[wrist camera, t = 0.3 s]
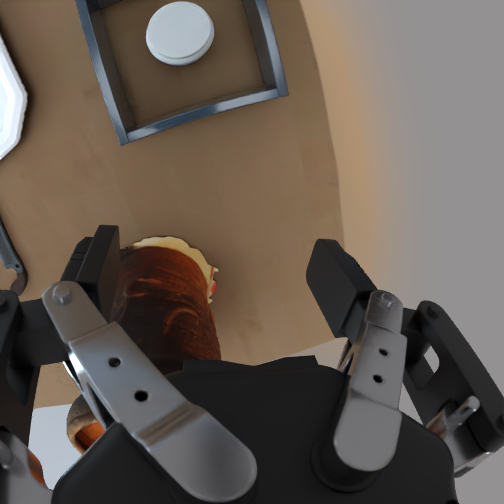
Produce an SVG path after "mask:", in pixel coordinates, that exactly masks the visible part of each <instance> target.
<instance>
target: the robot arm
mask: <svg viewBox="0 0 504 504" xmlns="http://www.w3.org/2000/svg"><path fill="white" fill-rule="evenodd" d="M119 275H120V244H119V227H118V226H116V225H99V227H98V229H97V231H96V233H95V235H94V237H85V238H84V239H83V240H81V241H80V242H79V243H78V244H77V246H76V248H75V250H74V252H73V254H72V256H71V258H70V260H69V262H68V264H67V266H66V268H65V271H64V273H63V275H62V277H61V279H60V282H56V283H54V284H52V285H50V286H49V287H48V288H46V290H45V291H44V292H43V295H42V298H40V299H36V300H30V301H24V302H20V301H19V298H18V296H17V294H16V293H15V292H13V291H10V290H0V504H459V503H458V500H457V496H456V490H455V482H454V478H458V477H461V476H462V475H464V474H465V473H467V472H468V471H470V470H471V469H473V468H474V467H476V466H477V465H479V464H480V463H481V462H483V461H484V460H485V459H487V458H488V457H489V456H491V455H492V454H493V453H495V452H496V451H497V450H499V448H501V447H502V446H504V397H503V395H502V394H501V392H500V391H499V389H498V387H497V386H496V384H495V383H494V381H493V379H492V378H491V376H490V375H489V373H488V372H487V370H486V369H485V367H484V365H483V364H482V362H481V361H480V359H479V358H478V357H477V355H476V354H475V352H474V351H473V349H472V348H471V346H470V345H469V343H468V342H467V341H466V339H465V338H464V336H463V335H462V334H461V332H460V331H459V329H458V328H457V327H456V326H455V324H454V323H453V321H452V320H451V319H450V317H449V316H448V315H447V313H446V312H445V311H444V310H443V308H441V307H440V306H439V305H437V304H436V303H434V302H431V301H422V302H420V304H419V306H418V307H417V309H416V310H413V309H408V308H403V305H402V303H401V301H400V300H399V299H398V298H397V297H396V296H395V295H393V294H391V293H389V292H387V291H383V290H378V289H377V288H376V286H375V285H374V284H373V283H372V281H371V280H370V278H369V277H368V276H367V274H366V273H364V271H363V269H362V268H361V267H360V265H359V264H358V263H357V261H356V260H355V259H354V258H353V257H352V256H350V255H349V254H348V253H346V252H345V251H344V250H343V249H342V247H341V246H340V245H339V243H338V242H337V241H336V240H331V239H318V240H317V241H316V243H315V245H314V249H313V252H312V255H311V258H310V261H309V264H308V267H307V271H306V280H307V284H308V286H309V288H310V289H311V291H312V293H313V295H314V297H315V299H316V301H317V303H318V305H319V307H320V309H321V311H322V313H323V315H324V317H325V319H326V321H327V323H328V325H329V327H330V329H331V331H332V333H333V335H334V336H335V338H340V337H347V338H348V340H347V342H346V344H345V346H344V349H343V352H342V355H341V358H340V361H339V364H338V366H337V369H334V368H331V367H328V366H323V365H318V362H317V360H316V358H315V355H312V356H298V357H285V358H281V359H278V360H274V361H271V362H267V363H264V364H260V365H256V366H250V365H244V364H238V363H233V362H227V361H222V360H183V370H179V371H175V372H172V373H169V374H167V375H165V376H164V375H163V374H162V373H161V372H160V371H159V370H158V369H157V368H156V367H155V366H154V364H153V363H152V362H151V361H150V360H149V359H148V358H147V357H146V356H145V354H144V353H143V352H142V351H141V350H140V349H139V348H138V346H137V345H136V344H135V343H134V342H133V341H132V339H131V338H130V337H129V336H128V335H127V333H126V332H125V331H124V330H123V329H122V327H121V326H120V325H119V324H118V323H117V322H116V321H112V322H109V321H110V316H111V311H112V306H113V301H114V297H115V292H116V288H117V284H118V280H119ZM430 346H432V348H433V349H434V351H435V352H436V354H437V356H438V358H439V367H438V369H437V371H436V372H435V373H434V372H433V371H432V369H431V367H430V366H429V364H428V362H427V360H426V359H425V357H424V354H425V353H426V352H427V350H428V349H429V347H430ZM58 362H63V363H64V365H65V367H66V369H67V370H68V372H69V374H70V375H71V377H72V379H73V380H74V382H75V384H76V385H77V387H78V389H79V390H80V392H81V393H82V395H83V396H84V398H85V400H86V401H87V403H88V405H89V406H90V408H91V410H92V412H93V414H94V415H95V417H96V419H97V420H98V422H99V423H100V425H101V426H102V427H103V429H104V430H105V432H104V433H103V434H102V435H101V436H100V437H99V438H98V439H97V440H96V441H95V442H94V443H93V444H92V445H91V446H90V447H89V449H88V450H87V451H86V452H85V453H84V454H83V455H82V456H81V457H80V458H79V459H78V460H77V461H76V462H75V463H74V464H73V465H72V466H71V467H70V468H69V469H68V470H67V471H66V472H65V473H64V474H63V475H62V476H61V478H60V479H59V480H58V482H57V484H56V485H55V488H54V490H51V489H49V488H48V487H47V485H46V484H45V481H44V477H43V470H42V466H41V464H40V462H39V460H38V459H37V457H36V456H35V455H34V454H33V453H32V452H31V451H30V450H29V449H28V443H29V434H30V426H31V419H32V412H33V405H34V399H35V394H36V388H37V383H38V378H39V373H40V368H41V365H46V364H52V363H58ZM402 382H403V384H404V386H405V388H406V390H407V392H408V394H409V396H410V398H411V400H412V402H413V404H414V406H415V408H416V410H417V412H418V414H419V416H420V419H421V421H422V423H423V425H424V426H423V425H422V424H420V423H418V422H417V421H415V420H414V419H412V418H411V417H409V416H407V415H406V414H405V413H403V412H402V411H400V410H399V400H400V395H401V388H402Z"/></svg>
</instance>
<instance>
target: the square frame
mask: <svg viewBox="0 0 504 504" xmlns="http://www.w3.org/2000/svg"><path fill="white" fill-rule="evenodd" d="M75 1H76V5H77V9H78V13H79V17H80V20H81V24H82V28H83V32H84V35H85V39H86V43H87V46H88V49H89V53H90V56H91V60H92V63H93V66H94V70H95V73H96V76H97V79H98V82H99V85H100V88H101V91H102V95H103V98H104V101H105V103H106V106H107V109H108V112H109V115H110V118H111V121H112V124H113V126H114V129H115V132H116V135H117V137H118V140H119V143H120V145H121V146H123V145H125V144H128V143H129V142H133V141H135V140H138V139H141V138H143V137H146V136H149V135H151V134H154V133H157V132H160V131H163V130H165V129H168V128H171V127H174V126H177V125H180V124H183V123H186V122H190V121H193V120H196V119H199V118H202V117H206V116H209V115H213V114H216V113H220V112H223V111H227V110H230V109H234V108H238V107H242V106H246V105H250V104H254V103H258V102H262V101H266V100H271V99H275V98H279V97H284V96H288V95H289V93H288V88H287V84H286V79H285V75H284V71H283V66H282V62H281V58H280V54H279V50H278V45H277V41H276V37H275V33H274V30H273V26H272V22H271V18H270V14H269V11H268V7H267V3H266V0H242V1H243V5H244V9H245V12H246V16H247V19H248V23H249V27H250V31H251V34H252V38H253V42H254V46H255V50H256V54H257V57H258V61H259V65H260V69H261V73H262V78H263V82H264V86H261V87H256V88H252V89H248V90H244V91H240V92H236V93H232V94H228V95H224V96H221V97H217V98H213V99H210V100H206V101H203V102H200V103H196V104H193V105H190V106H187V107H183V108H180V109H177V110H174V111H171V112H168V113H165V114H163V115H160V116H157V117H154V118H151V119H149V120H146V121H143V122H141V123H138V124H136V125H135V122H134V119H133V116H132V113H131V110H130V107H129V104H128V101H127V98H126V95H125V92H124V89H123V86H122V83H121V80H120V77H119V74H118V70H117V67H116V64H115V61H114V57H113V54H112V50H111V47H110V44H109V40H108V37H107V33H106V30H105V26H104V22H103V19H102V15H101V11H100V9H102V8H104V7H107V6H109V5H112V4H114V3H117V2H119V1H122V0H75Z"/></svg>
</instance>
